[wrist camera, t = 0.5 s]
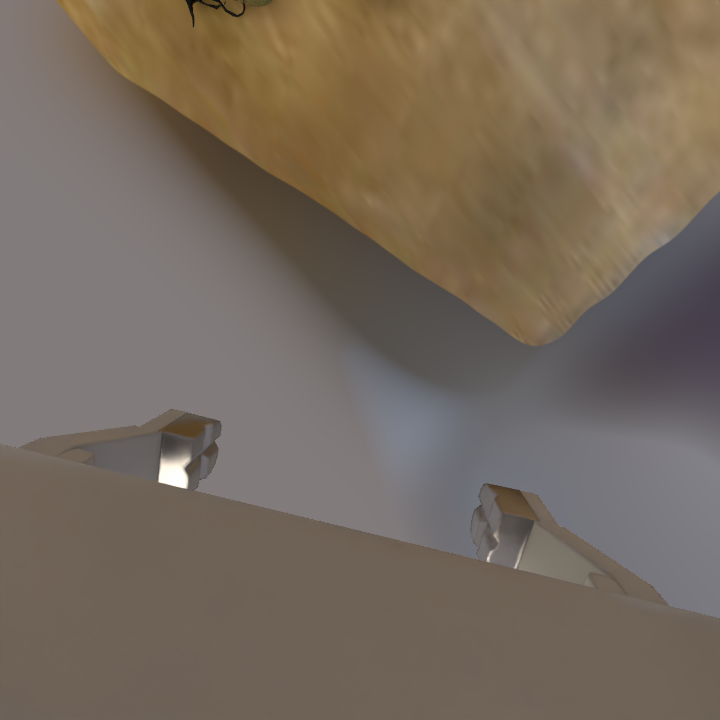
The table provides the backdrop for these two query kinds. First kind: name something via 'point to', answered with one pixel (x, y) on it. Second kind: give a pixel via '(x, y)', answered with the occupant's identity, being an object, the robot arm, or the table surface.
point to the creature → (192, 0)
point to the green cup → (254, 2)
